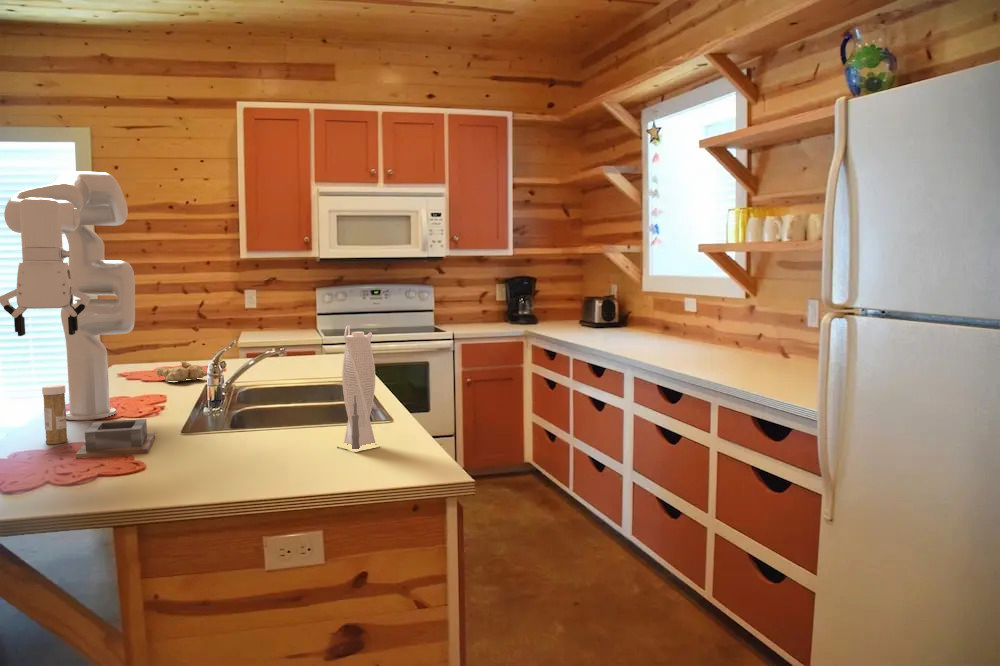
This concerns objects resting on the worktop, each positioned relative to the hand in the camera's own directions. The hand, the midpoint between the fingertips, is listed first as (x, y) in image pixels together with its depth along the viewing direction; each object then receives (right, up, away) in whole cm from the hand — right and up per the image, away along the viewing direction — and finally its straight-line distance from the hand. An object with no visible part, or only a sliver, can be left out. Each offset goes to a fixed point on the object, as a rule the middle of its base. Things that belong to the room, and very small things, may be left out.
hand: (47, 334), depth 163 cm
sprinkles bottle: (-4, -25, +11) cm, 28 cm away
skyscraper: (+66, -26, +9) cm, 72 cm away
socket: (+12, -26, +7) cm, 29 cm away
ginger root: (-11, -17, +97) cm, 99 cm away
